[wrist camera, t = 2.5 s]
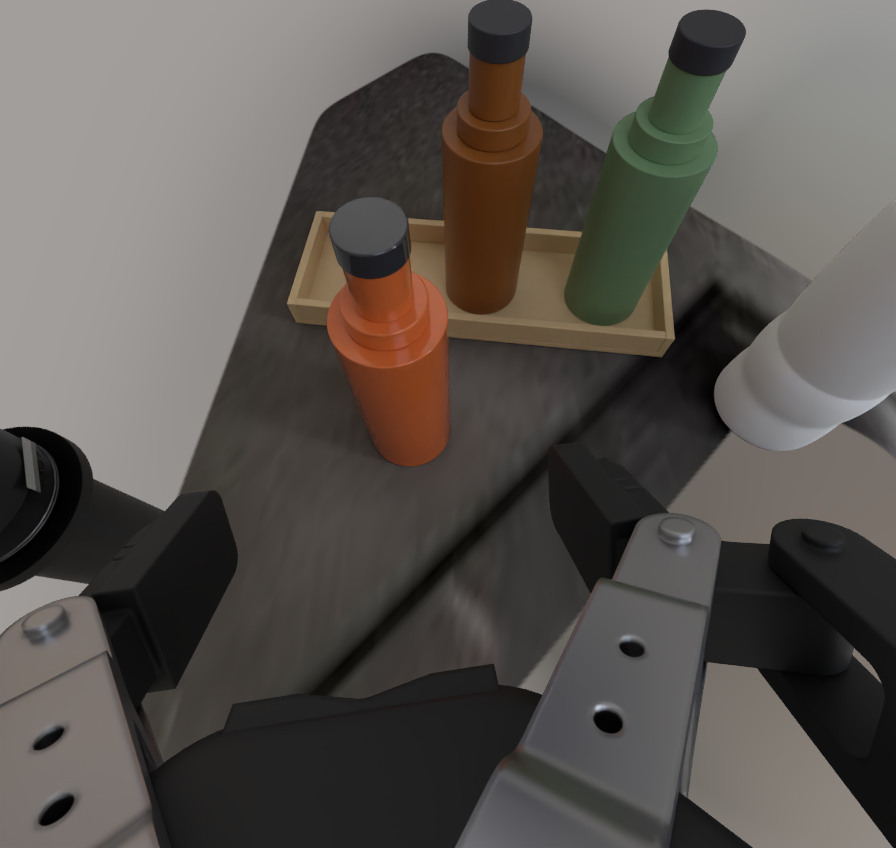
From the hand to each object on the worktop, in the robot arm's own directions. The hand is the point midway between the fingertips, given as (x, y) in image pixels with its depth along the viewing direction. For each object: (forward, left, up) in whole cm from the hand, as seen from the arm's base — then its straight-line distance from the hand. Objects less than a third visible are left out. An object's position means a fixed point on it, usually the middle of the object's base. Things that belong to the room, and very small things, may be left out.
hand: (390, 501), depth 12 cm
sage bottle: (+21, +12, -18) cm, 30 cm away
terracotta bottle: (+4, +10, -18) cm, 21 cm away
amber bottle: (+14, +18, -18) cm, 28 cm away
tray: (+14, +18, -18) cm, 29 cm away
